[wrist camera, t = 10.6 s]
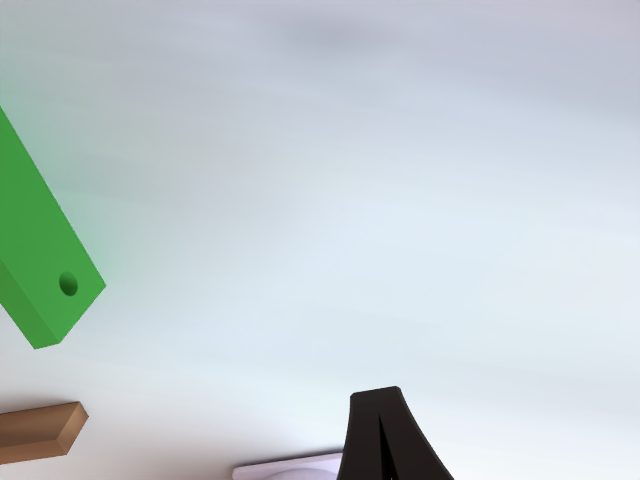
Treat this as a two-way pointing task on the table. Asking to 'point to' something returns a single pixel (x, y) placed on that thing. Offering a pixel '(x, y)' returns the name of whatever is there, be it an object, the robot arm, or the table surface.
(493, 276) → the table surface
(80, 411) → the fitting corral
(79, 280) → the pipe clamp
